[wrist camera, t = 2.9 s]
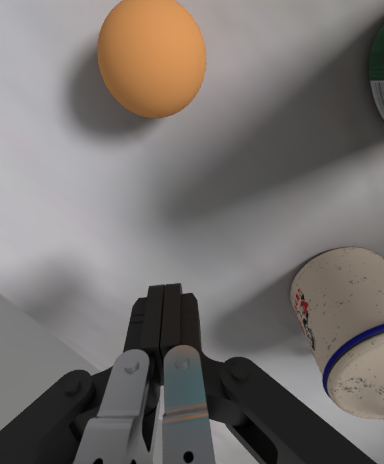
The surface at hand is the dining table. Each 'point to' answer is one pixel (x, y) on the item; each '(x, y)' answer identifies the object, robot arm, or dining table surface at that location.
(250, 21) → the dining table surface
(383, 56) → the coffee jar
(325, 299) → the teacup with lid
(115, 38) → the ball
